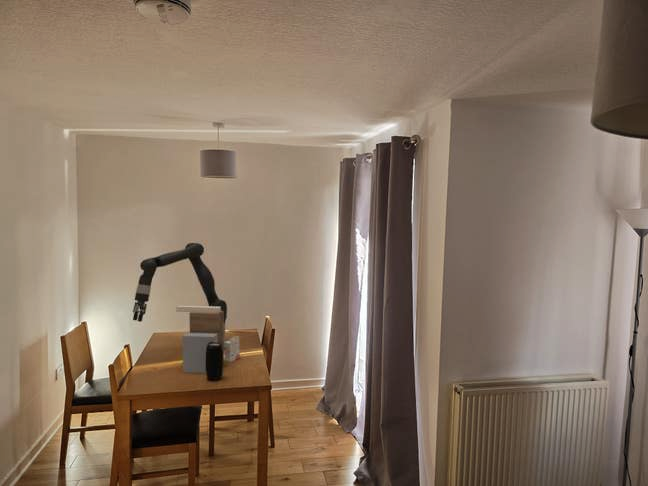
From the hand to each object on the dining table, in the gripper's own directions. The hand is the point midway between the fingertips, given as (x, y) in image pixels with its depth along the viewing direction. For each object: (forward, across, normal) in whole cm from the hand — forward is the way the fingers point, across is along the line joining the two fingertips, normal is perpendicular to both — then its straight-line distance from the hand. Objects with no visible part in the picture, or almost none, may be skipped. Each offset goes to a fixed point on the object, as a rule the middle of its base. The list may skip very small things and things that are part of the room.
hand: (137, 320), depth 248 cm
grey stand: (+23, -23, -33) cm, 47 cm away
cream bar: (-10, -15, -29) cm, 34 cm away
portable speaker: (+25, -39, -34) cm, 58 cm away
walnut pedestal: (+21, -16, -40) cm, 48 cm away
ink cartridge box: (+17, -17, -56) cm, 61 cm away
